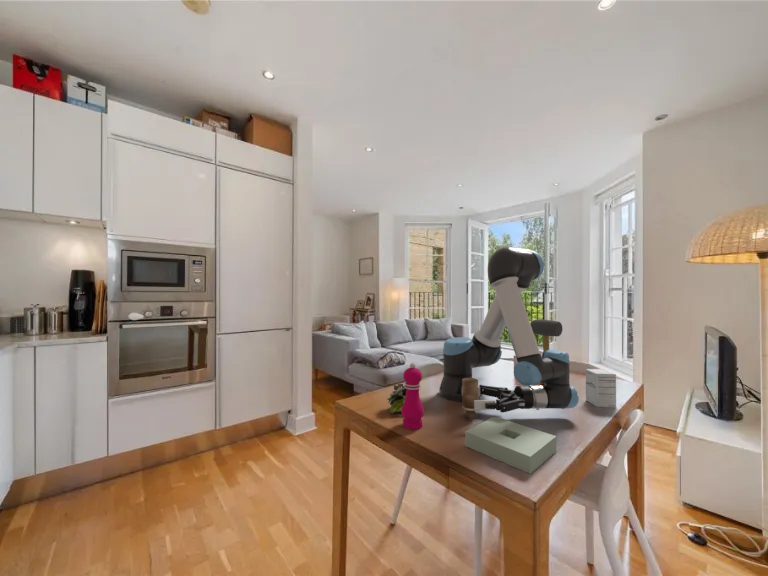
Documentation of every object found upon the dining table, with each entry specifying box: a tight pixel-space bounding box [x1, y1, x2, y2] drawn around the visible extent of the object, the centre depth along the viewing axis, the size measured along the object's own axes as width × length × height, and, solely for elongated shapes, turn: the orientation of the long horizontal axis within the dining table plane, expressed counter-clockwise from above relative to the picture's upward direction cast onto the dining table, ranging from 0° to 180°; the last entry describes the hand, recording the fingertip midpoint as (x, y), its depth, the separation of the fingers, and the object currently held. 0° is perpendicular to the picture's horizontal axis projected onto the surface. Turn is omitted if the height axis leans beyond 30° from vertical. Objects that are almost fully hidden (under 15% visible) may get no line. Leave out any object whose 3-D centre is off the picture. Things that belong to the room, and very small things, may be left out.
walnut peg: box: [461, 377, 479, 421], centre depth 107 cm, size 5×5×13 cm
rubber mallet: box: [530, 319, 563, 385], centre depth 148 cm, size 12×8×30 cm, turn 33°
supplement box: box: [585, 368, 617, 408], centre depth 121 cm, size 7×7×13 cm
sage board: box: [464, 416, 557, 475], centre depth 86 cm, size 18×16×4 cm
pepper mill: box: [400, 362, 425, 430], centre depth 101 cm, size 7×7×20 cm
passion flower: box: [386, 383, 406, 415], centre depth 114 cm, size 11×11×12 cm
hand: (467, 397), depth 107 cm, fingers open, 13 cm apart
